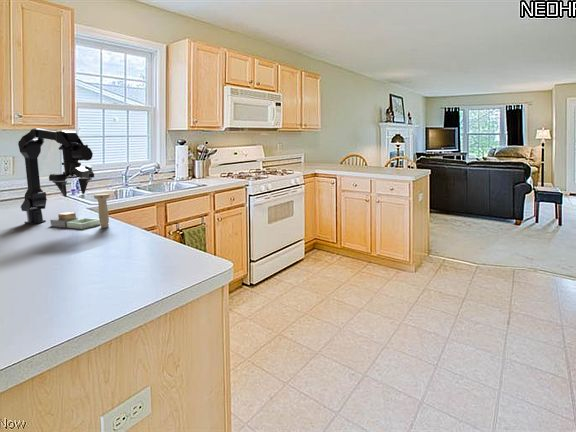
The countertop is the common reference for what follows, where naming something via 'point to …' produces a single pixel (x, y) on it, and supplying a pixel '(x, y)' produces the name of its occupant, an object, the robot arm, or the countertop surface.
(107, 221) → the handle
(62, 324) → the countertop surface
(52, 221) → the slate platform
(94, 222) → the tray
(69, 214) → the tan block
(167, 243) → the countertop surface
